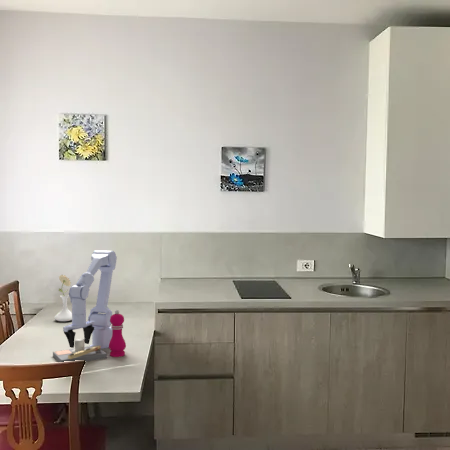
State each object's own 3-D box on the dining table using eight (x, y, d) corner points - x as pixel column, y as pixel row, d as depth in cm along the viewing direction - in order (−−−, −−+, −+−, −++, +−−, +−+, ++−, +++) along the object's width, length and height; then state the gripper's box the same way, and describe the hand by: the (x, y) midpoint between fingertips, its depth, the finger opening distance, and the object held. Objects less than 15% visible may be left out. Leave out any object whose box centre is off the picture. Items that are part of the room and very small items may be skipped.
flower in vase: (78, 321, 310) (78, 275, 308) (58, 323, 303) (57, 277, 302) (70, 316, 320) (70, 272, 319) (50, 319, 314) (49, 274, 312)
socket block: (96, 351, 252) (96, 343, 252) (106, 359, 240) (106, 351, 240) (52, 357, 243) (52, 349, 242) (61, 366, 231) (61, 358, 230)
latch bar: (97, 348, 244) (97, 345, 244) (101, 349, 243) (101, 345, 242) (67, 358, 229) (67, 355, 229) (71, 359, 228) (71, 355, 228)
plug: (84, 354, 246) (84, 337, 245) (89, 358, 240) (89, 341, 240) (70, 356, 243) (70, 339, 242) (74, 360, 237) (74, 342, 237)
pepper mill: (110, 359, 240) (110, 312, 239) (107, 354, 247) (106, 309, 245) (127, 357, 243) (127, 311, 242) (123, 352, 250) (123, 307, 248)
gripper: (87, 309, 248) (87, 340, 249) (58, 315, 237) (59, 347, 238) (97, 311, 244) (97, 343, 245) (68, 317, 233) (69, 350, 234)
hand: (79, 345), depth 241 cm, fingers open, 7 cm apart
